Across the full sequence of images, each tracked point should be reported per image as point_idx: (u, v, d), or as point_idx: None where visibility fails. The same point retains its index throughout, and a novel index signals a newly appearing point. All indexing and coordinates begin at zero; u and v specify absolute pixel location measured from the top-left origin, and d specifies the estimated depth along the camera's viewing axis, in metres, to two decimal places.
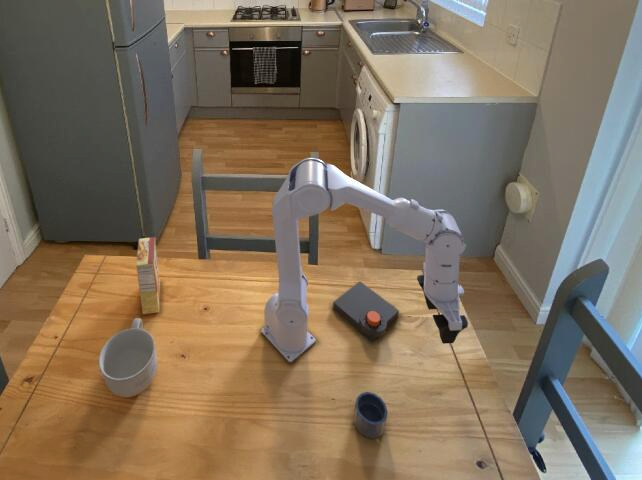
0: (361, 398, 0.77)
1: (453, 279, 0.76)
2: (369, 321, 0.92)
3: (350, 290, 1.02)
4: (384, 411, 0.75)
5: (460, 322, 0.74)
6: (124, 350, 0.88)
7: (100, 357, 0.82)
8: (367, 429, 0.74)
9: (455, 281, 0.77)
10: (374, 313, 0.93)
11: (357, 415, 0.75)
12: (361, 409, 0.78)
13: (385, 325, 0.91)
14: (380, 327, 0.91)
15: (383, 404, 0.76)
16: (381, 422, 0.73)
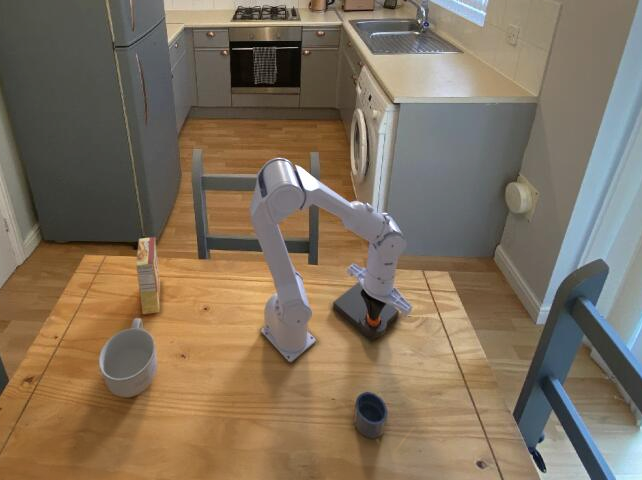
0: (361, 398, 0.77)
1: (392, 275, 0.84)
2: (369, 321, 0.92)
3: (350, 290, 1.02)
4: (384, 411, 0.75)
5: (411, 306, 0.84)
6: (124, 350, 0.88)
7: (100, 357, 0.82)
8: (367, 429, 0.74)
9: None
10: None
11: (357, 415, 0.75)
12: (361, 409, 0.78)
13: (385, 325, 0.91)
14: (380, 327, 0.91)
15: (383, 404, 0.76)
16: (381, 422, 0.73)
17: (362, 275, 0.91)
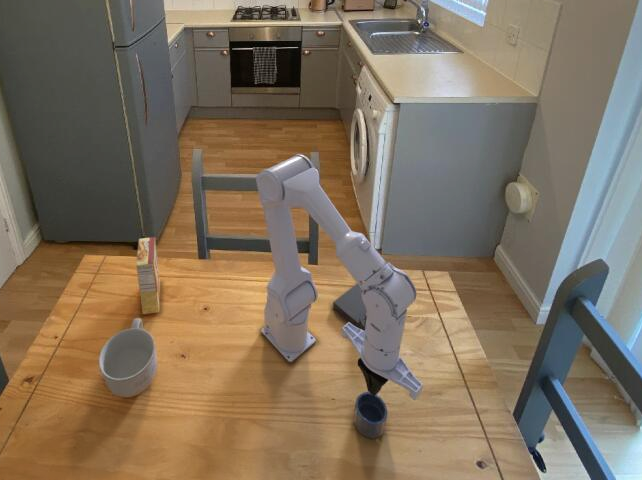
0: (361, 398, 0.77)
1: (381, 347, 0.66)
2: None
3: (350, 290, 1.02)
4: (384, 411, 0.75)
5: (421, 385, 0.66)
6: (124, 350, 0.88)
7: (100, 357, 0.82)
8: (367, 429, 0.74)
9: None
10: None
11: (357, 415, 0.75)
12: (361, 409, 0.78)
13: None
14: None
15: (383, 404, 0.76)
16: (381, 422, 0.73)
17: (359, 339, 0.73)
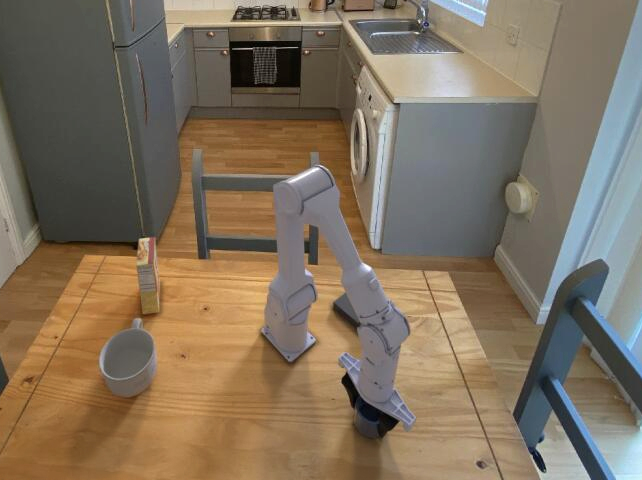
0: (361, 398, 0.77)
1: (375, 381, 0.68)
2: None
3: None
4: None
5: (415, 418, 0.68)
6: (124, 350, 0.88)
7: (100, 357, 0.82)
8: (367, 429, 0.74)
9: None
10: None
11: (357, 415, 0.75)
12: (361, 409, 0.78)
13: None
14: None
15: None
16: None
17: (355, 369, 0.76)
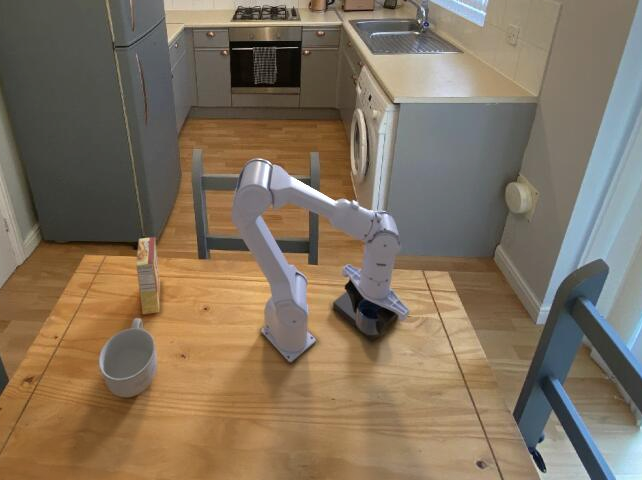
0: (362, 303, 0.88)
1: (386, 278, 0.79)
2: None
3: None
4: None
5: (408, 310, 0.79)
6: (124, 350, 0.88)
7: (100, 357, 0.82)
8: (367, 326, 0.84)
9: None
10: None
11: (358, 315, 0.85)
12: (362, 314, 0.89)
13: None
14: None
15: (381, 307, 0.86)
16: None
17: (357, 276, 0.86)
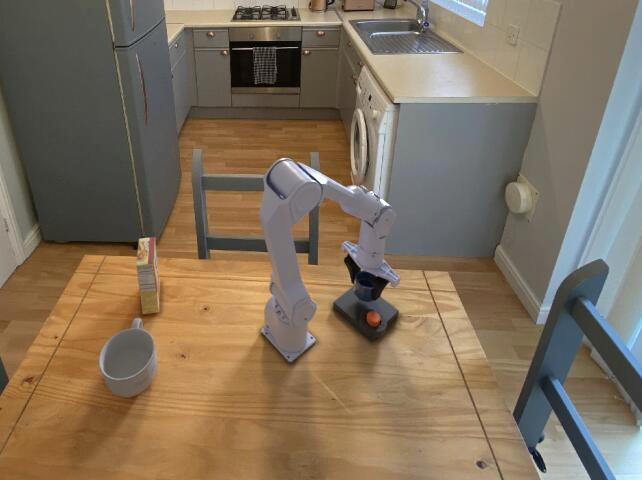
0: (359, 275, 1.00)
1: (384, 246, 0.91)
2: (369, 321, 0.92)
3: (350, 290, 1.02)
4: None
5: (399, 277, 0.90)
6: (124, 350, 0.88)
7: (100, 357, 0.82)
8: (364, 294, 0.96)
9: None
10: (374, 313, 0.93)
11: (356, 285, 0.97)
12: (359, 284, 1.00)
13: (385, 325, 0.91)
14: (380, 327, 0.91)
15: None
16: None
17: (355, 251, 0.98)
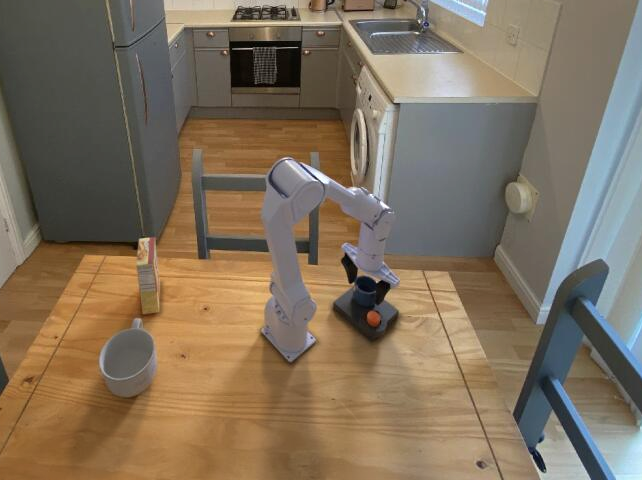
0: (358, 279, 1.00)
1: (384, 249, 0.92)
2: (369, 321, 0.92)
3: (350, 290, 1.02)
4: None
5: (399, 280, 0.90)
6: (124, 350, 0.88)
7: (100, 357, 0.82)
8: (363, 299, 0.96)
9: (384, 249, 0.93)
10: (374, 313, 0.93)
11: (355, 289, 0.98)
12: (358, 289, 1.01)
13: (385, 325, 0.91)
14: (380, 327, 0.91)
15: (375, 282, 0.98)
16: (374, 292, 0.96)
17: (354, 253, 0.98)
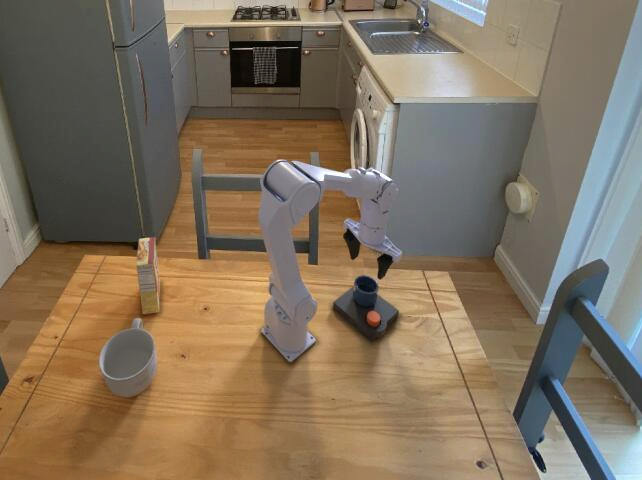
0: (358, 279, 1.00)
1: None
2: (369, 321, 0.92)
3: (350, 290, 1.02)
4: (376, 287, 0.98)
5: (401, 253, 0.91)
6: (124, 350, 0.88)
7: (100, 357, 0.82)
8: (363, 299, 0.96)
9: None
10: (374, 313, 0.93)
11: (355, 289, 0.98)
12: (358, 289, 1.01)
13: (385, 325, 0.91)
14: (380, 327, 0.91)
15: (375, 282, 0.98)
16: (374, 292, 0.96)
17: (356, 228, 0.98)
